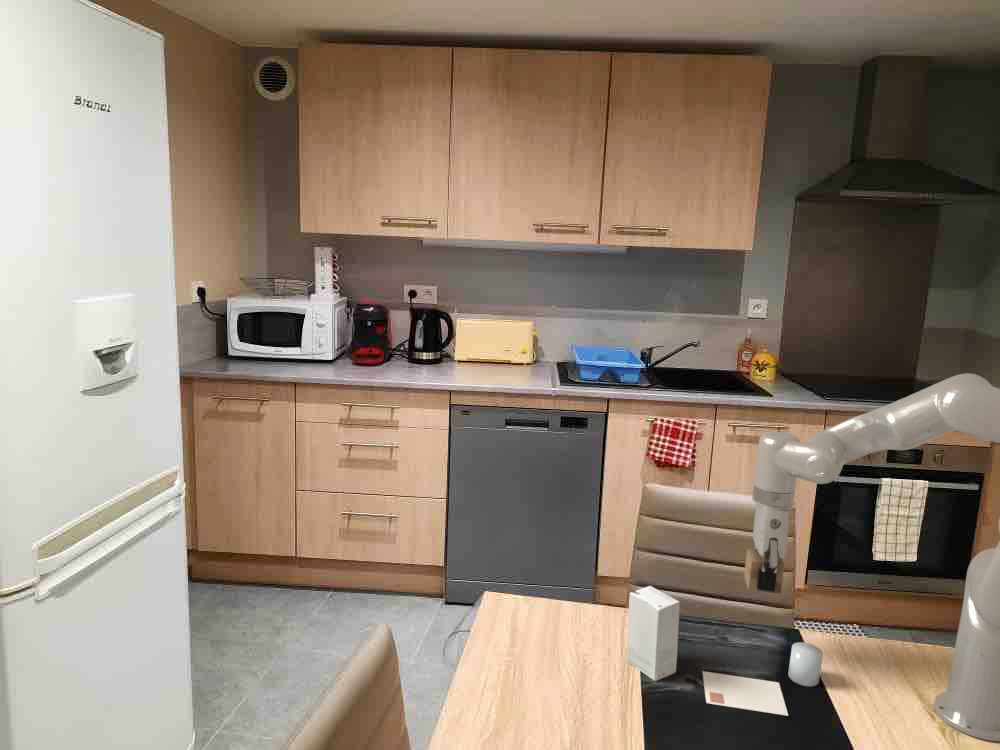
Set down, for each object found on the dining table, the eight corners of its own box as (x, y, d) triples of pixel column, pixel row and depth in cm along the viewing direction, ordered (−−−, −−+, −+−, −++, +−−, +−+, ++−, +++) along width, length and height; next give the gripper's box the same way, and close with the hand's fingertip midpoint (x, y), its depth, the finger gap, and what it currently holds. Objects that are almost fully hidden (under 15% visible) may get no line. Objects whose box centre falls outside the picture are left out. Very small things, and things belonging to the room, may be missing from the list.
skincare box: (676, 674, 143) (683, 602, 140) (653, 683, 140) (660, 610, 137) (645, 652, 150) (651, 583, 147) (622, 660, 147) (629, 590, 144)
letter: (778, 683, 142) (778, 682, 142) (788, 716, 132) (788, 715, 132) (702, 672, 144) (702, 671, 144) (706, 703, 135) (706, 702, 135)
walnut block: (774, 579, 152) (778, 551, 150) (780, 593, 146) (784, 565, 145) (744, 576, 153) (747, 548, 151) (748, 590, 147) (751, 561, 146)
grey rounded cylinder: (815, 672, 146) (819, 644, 145) (821, 689, 141) (825, 660, 139) (785, 668, 147) (789, 640, 146) (790, 684, 142) (794, 656, 140)
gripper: (803, 514, 137) (791, 605, 140) (784, 483, 153) (774, 565, 157) (760, 509, 138) (749, 600, 141) (746, 479, 154) (737, 561, 158)
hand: (762, 581), depth 149 cm, fingers closed on walnut block, 6 cm apart
